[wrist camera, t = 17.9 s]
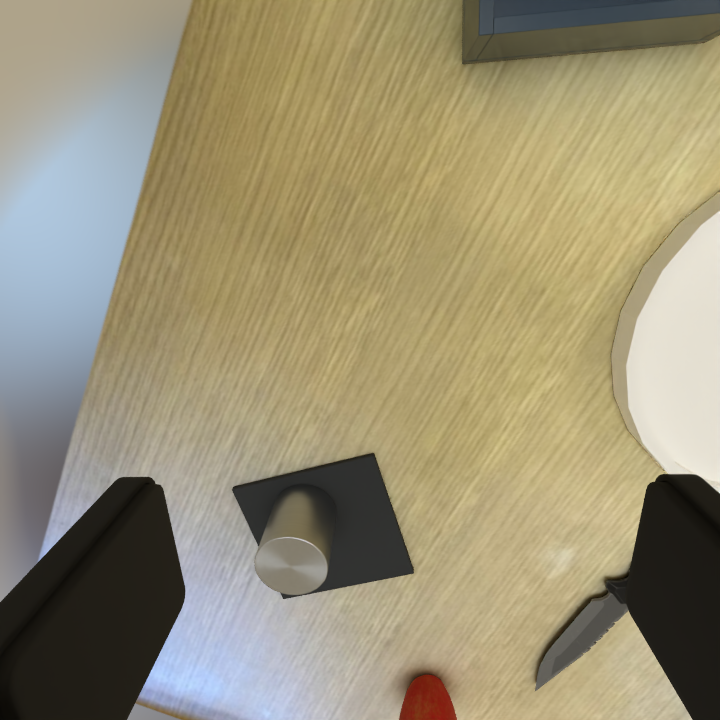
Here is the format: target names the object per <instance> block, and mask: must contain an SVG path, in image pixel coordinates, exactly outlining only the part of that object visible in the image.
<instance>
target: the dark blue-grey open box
mask: <svg viewBox="0 0 720 720" xmlns="http://www.w3.org/2000/svg"><path fill="white" fill-rule="evenodd" d="M719 35H720V0H463V22H462V64H472V63H483V62H494V61H506V60H517V59H528V58H539V57H551V56H562V55H573V54H584V53H595V52H607V51H618V50H629V49H640V48H652V47H663V46H674V45H685V44H697V43H705V42H707V41H709V40H711V39H713V38H715V37H717V36H719Z"/></svg>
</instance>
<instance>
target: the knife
mask: <svg viewBox="0 0 720 720" xmlns="http://www.w3.org/2000/svg"><path fill="white" fill-rule="evenodd" d="M627 581H628V577H627V578H624V579H621V580H607V583H606V586H605V587H606V588H607V589H608V591H609V592H608V594H607V595H606V596H604V597H602V598H595V599H592V600H591V602H590V603H589V604H588V605H587V606H586V607H585V609H584V610H583V611H582V612H581V613H580V614H579V615H578V616H577V618H576V619H575V620H574V621H573V622H572V623H571V625H570V626H569V627H568V628H567V629H566V630H565V631H564V633H563V634H562V635H561V636H560V637H559V638H558V640H557V641H556V642H555V643H554V644H553V645H552V647H551V648H550V649H549V651H548V652H547V653H546V655H545V657H544V659H543V661H542V663H541V665H540V668H539V671H538V675H537V681H536V689H535V691H536V690H538V689H539V688H540V687H541V686H543V685H544V684H545V683H547V682H548V681H549V680H551V679H552V678H553V677H555V676H556V675H557V674H558V673H560V672H561V671H562V670H564V669H565V668H566V667H568V666H569V665H570V664H572V663H573V662H574V661H576V660H577V659H578V658H580V657H581V656H582V655H584V654H583V653H586V652H587V651H589V650H590V649H591V648H590V647H592V646H593V645H595V644H596V643H597V642H595V641H598V640H599V639H601V638H602V637H603V636H602V635H604V634H605V633H607V632H608V631H609V630H608V629H610V628H611V627H612V626H613V625H614V624H615V623H614V622H616V621H618V620H619V619H620V618H621V617H622V616H623V615H624V614H625V613H626V612H627V611H628V607H627V604H626V599H625V591H626V586H627Z"/></svg>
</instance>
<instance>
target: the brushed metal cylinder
mask: <svg viewBox="0 0 720 720" xmlns="http://www.w3.org/2000/svg"><path fill="white" fill-rule="evenodd" d="M336 515H337V511H336V506H335V503H334V501H333V500H332V498H331V497H330V496H329V495H328V494H327V493H326V492H325V491H323V490H322V489H320V488H318V487H316V486H312V485H307V484H299V485H294V486H291V487H288V488H286V489H285V490H283V491H282V492H281V493H280V494H279V495H278V497H277V498H276V501H275V503H274V506H273V509H272V511H271V514H270V517H269V520H268V522H267V525H266V528H265V531H264V533H263V536H262V539H261V542H260V544H259V547H258V550H257V553H256V556H255V562H254V563H255V569H256V572H257V575H258V576H259V578H260V579H261V580H262V582H263V583H264V584H266V585H267V586H268V587H270V588H271V589H273V590H275V591H277V592H280V593H283V594H288V595H301V594H306V593H309V592H312V591H314V590H315V589H317V588H318V587H319V586H320V585H321V584H322V583H323V582H324V581H325V579H326V576H327V573H328V567H329V560H330V554H331V547H332V541H333V534H334V528H335V521H336Z"/></svg>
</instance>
